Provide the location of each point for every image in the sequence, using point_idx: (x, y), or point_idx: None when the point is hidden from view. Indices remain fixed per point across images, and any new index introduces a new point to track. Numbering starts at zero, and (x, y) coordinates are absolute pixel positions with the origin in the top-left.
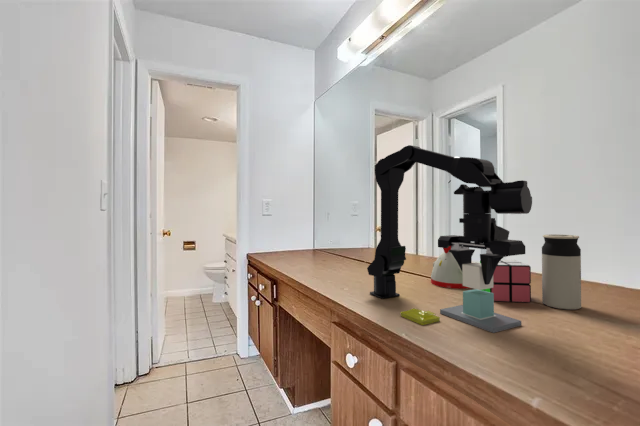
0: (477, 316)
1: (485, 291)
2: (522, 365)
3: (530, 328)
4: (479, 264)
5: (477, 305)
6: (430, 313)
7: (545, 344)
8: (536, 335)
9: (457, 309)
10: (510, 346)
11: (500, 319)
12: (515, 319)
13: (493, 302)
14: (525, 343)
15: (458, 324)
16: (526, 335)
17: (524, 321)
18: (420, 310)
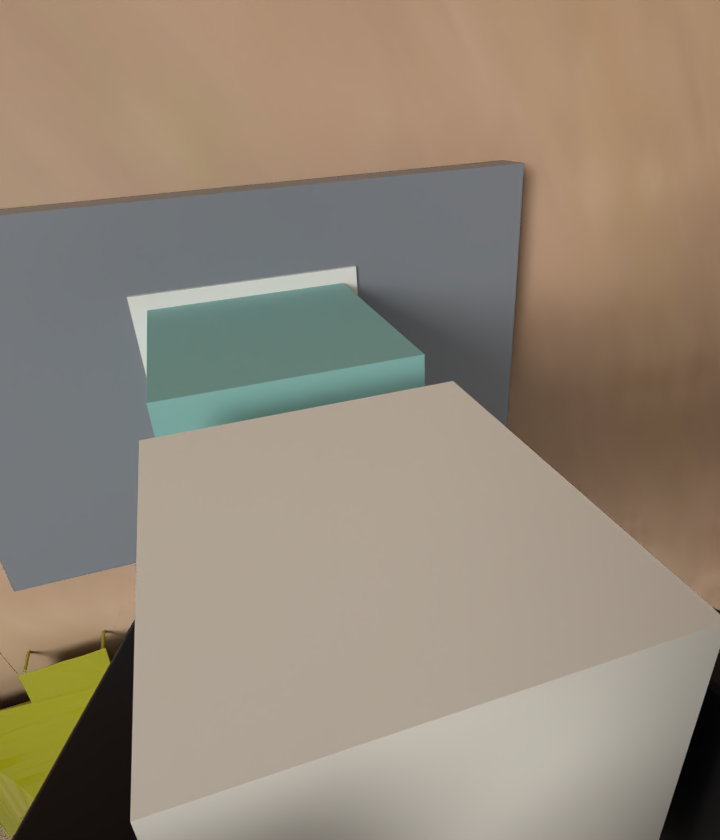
0: None
1: (313, 383)
2: (710, 567)
3: (567, 154)
4: (454, 835)
5: None
6: (88, 678)
7: (710, 323)
8: (640, 246)
9: (62, 459)
10: (621, 498)
11: (426, 304)
12: (482, 180)
13: (384, 323)
14: (647, 407)
15: None
16: (607, 306)
17: (460, 18)
18: None
